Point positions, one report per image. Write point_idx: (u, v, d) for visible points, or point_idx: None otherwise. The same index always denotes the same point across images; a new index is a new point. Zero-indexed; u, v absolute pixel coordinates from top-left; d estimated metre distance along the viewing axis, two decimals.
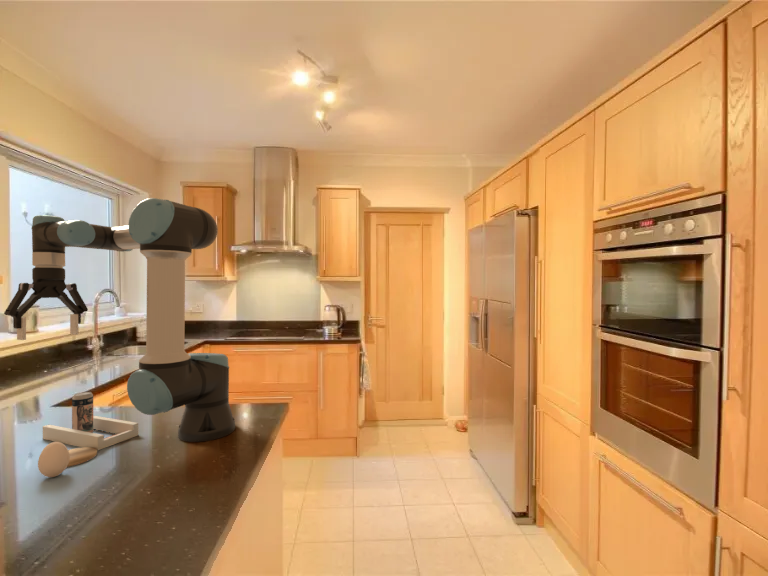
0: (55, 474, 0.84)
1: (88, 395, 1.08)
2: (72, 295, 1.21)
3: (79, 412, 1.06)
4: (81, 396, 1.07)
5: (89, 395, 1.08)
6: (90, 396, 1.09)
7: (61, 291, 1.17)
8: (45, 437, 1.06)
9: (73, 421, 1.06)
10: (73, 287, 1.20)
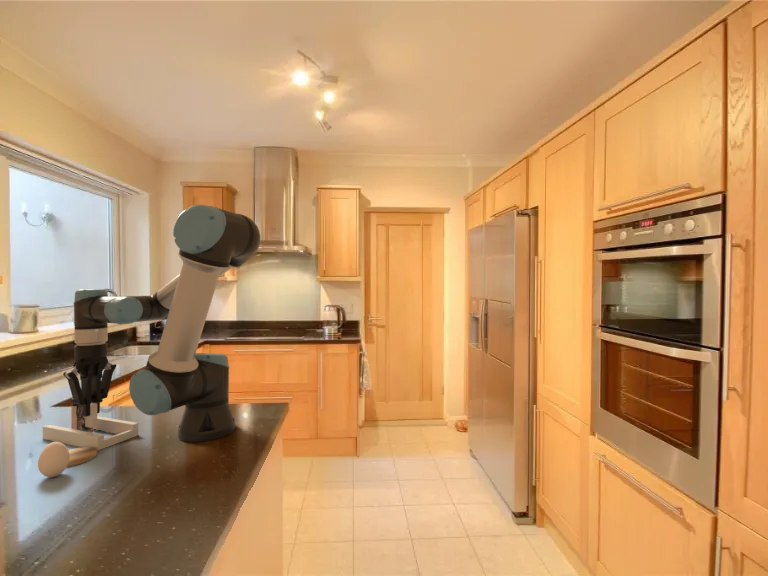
0: (55, 474, 0.84)
1: None
2: (104, 376, 1.11)
3: (78, 412, 1.06)
4: None
5: None
6: None
7: (100, 370, 1.08)
8: (45, 437, 1.06)
9: (72, 421, 1.07)
10: (112, 367, 1.12)
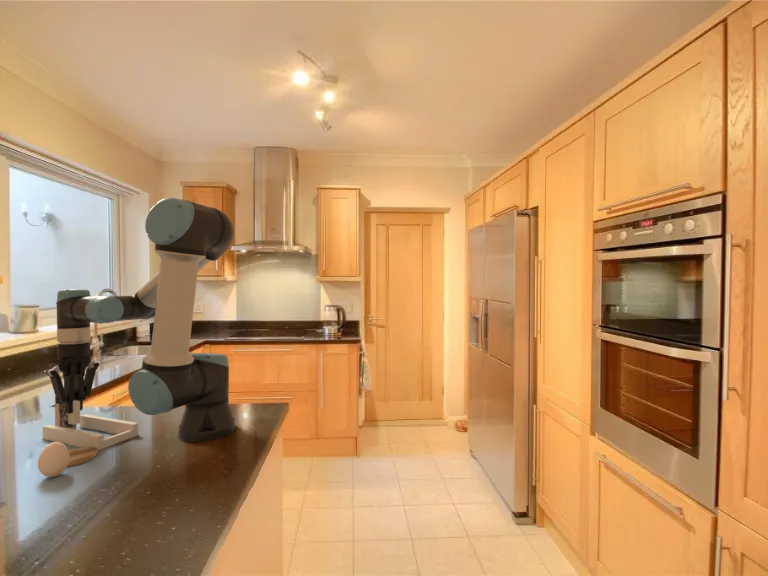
0: (55, 474, 0.84)
1: None
2: (87, 374, 1.14)
3: (61, 409, 1.09)
4: None
5: None
6: None
7: (83, 368, 1.11)
8: (45, 437, 1.06)
9: (56, 418, 1.09)
10: (95, 366, 1.14)
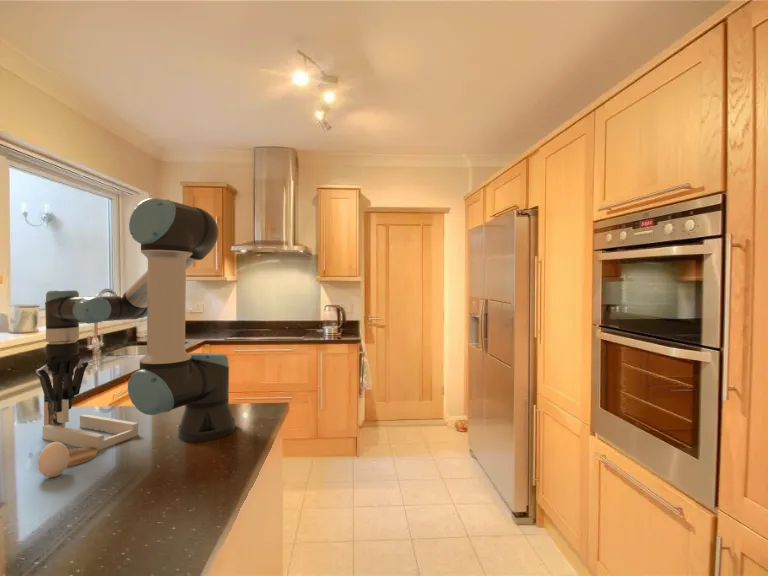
0: (55, 474, 0.84)
1: None
2: (76, 373, 1.15)
3: (50, 407, 1.11)
4: None
5: None
6: None
7: (71, 367, 1.12)
8: (45, 437, 1.06)
9: (45, 416, 1.11)
10: (83, 365, 1.16)
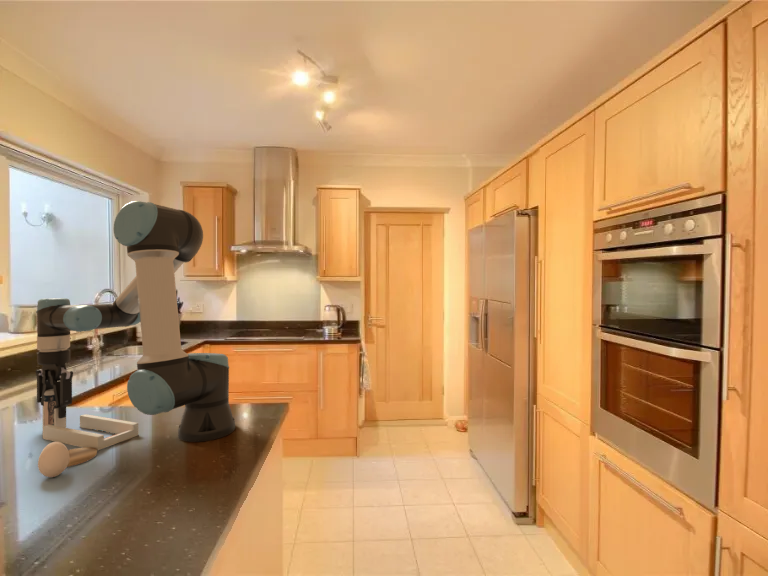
0: (55, 474, 0.84)
1: None
2: None
3: (50, 407, 1.11)
4: (52, 392, 1.11)
5: None
6: None
7: (51, 377, 1.11)
8: (45, 437, 1.06)
9: (44, 416, 1.11)
10: (61, 376, 1.10)
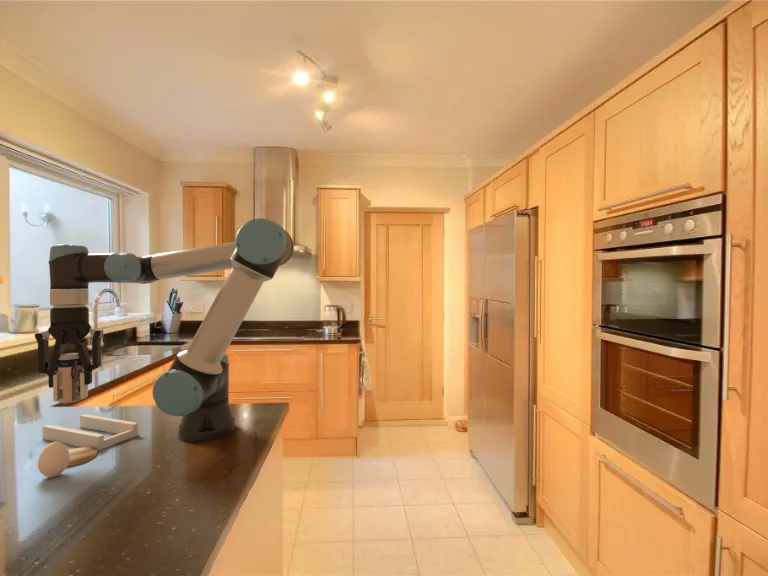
0: (55, 474, 0.84)
1: None
2: None
3: (74, 373, 0.94)
4: (75, 355, 0.94)
5: None
6: None
7: (76, 337, 0.94)
8: (45, 437, 1.06)
9: (65, 384, 0.93)
10: (94, 334, 0.96)
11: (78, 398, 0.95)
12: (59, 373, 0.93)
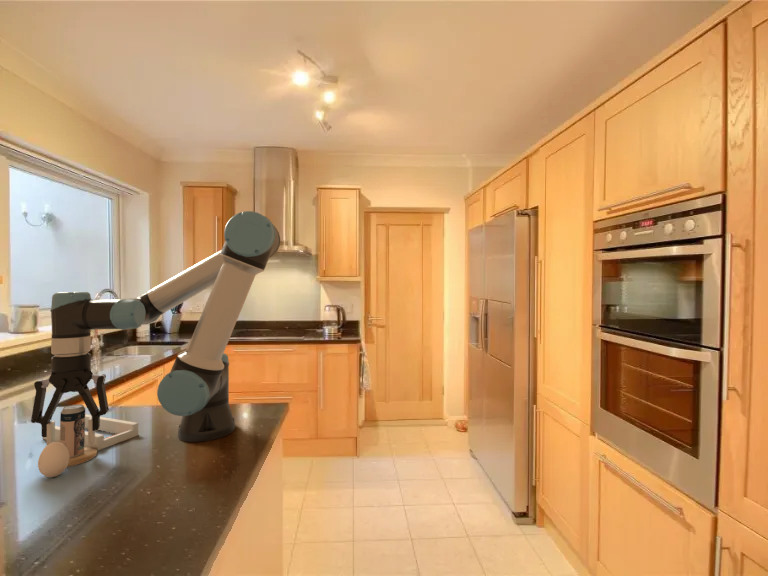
0: (55, 474, 0.84)
1: (83, 407, 0.95)
2: None
3: (77, 427, 0.92)
4: (79, 408, 0.93)
5: (83, 407, 0.95)
6: (84, 408, 0.95)
7: (79, 385, 0.93)
8: (45, 437, 1.06)
9: (67, 439, 0.91)
10: (98, 381, 0.95)
11: (80, 452, 0.93)
12: (61, 427, 0.91)
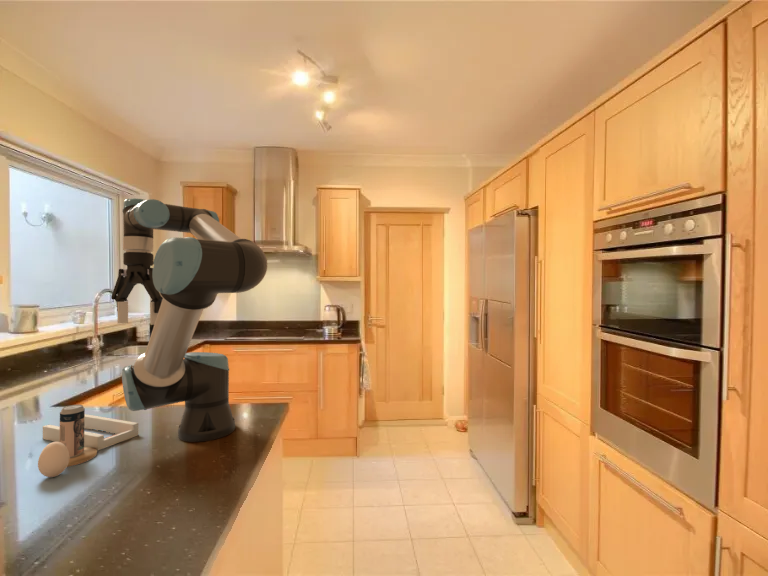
0: (55, 474, 0.84)
1: (82, 407, 0.94)
2: None
3: (77, 427, 0.92)
4: (78, 409, 0.93)
5: (83, 407, 0.95)
6: (84, 408, 0.95)
7: (138, 276, 1.10)
8: (45, 437, 1.06)
9: (67, 439, 0.91)
10: (149, 272, 1.09)
11: (80, 452, 0.93)
12: (61, 428, 0.91)
